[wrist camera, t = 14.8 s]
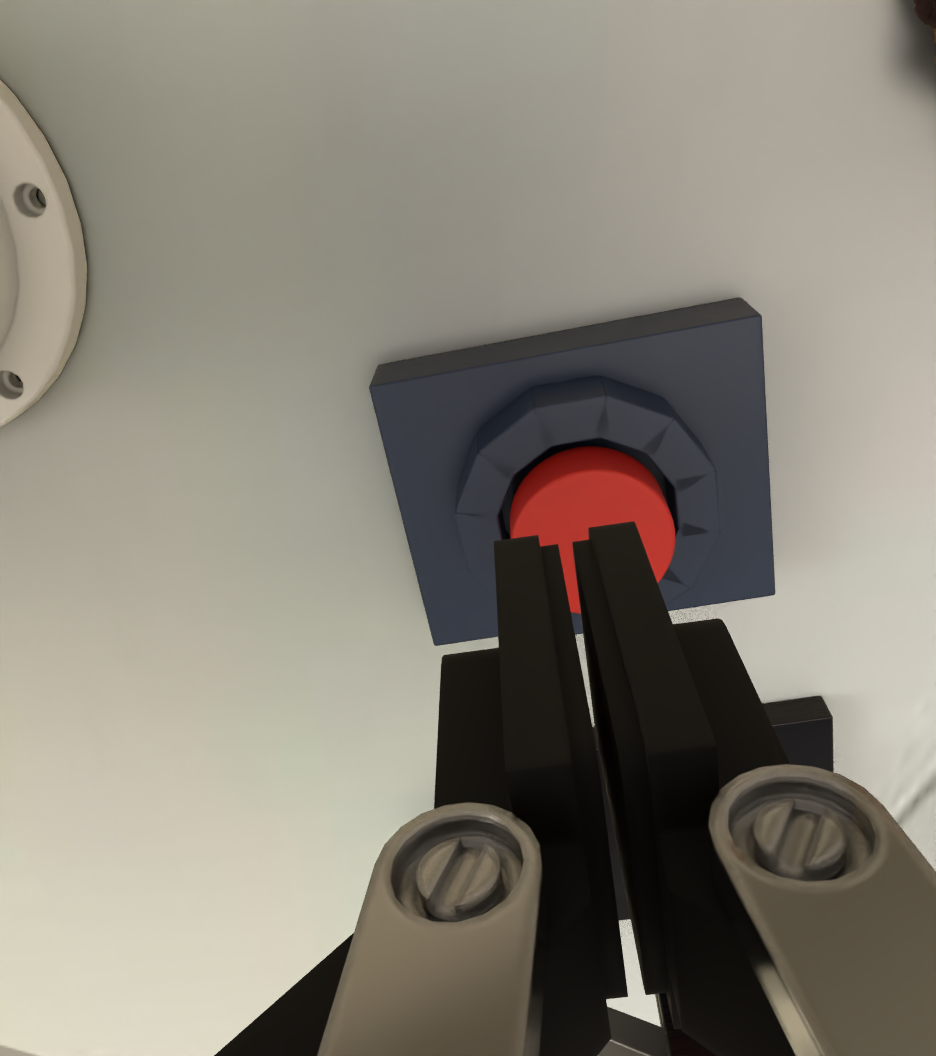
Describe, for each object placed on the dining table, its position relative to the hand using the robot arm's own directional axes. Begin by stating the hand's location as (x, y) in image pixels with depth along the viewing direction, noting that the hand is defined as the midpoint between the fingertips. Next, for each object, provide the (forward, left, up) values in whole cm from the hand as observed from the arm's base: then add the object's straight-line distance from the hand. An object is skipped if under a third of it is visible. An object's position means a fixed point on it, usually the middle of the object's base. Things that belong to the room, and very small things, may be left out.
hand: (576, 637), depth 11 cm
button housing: (+1, -5, -18) cm, 18 cm away
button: (+1, -5, -14) cm, 15 cm away
